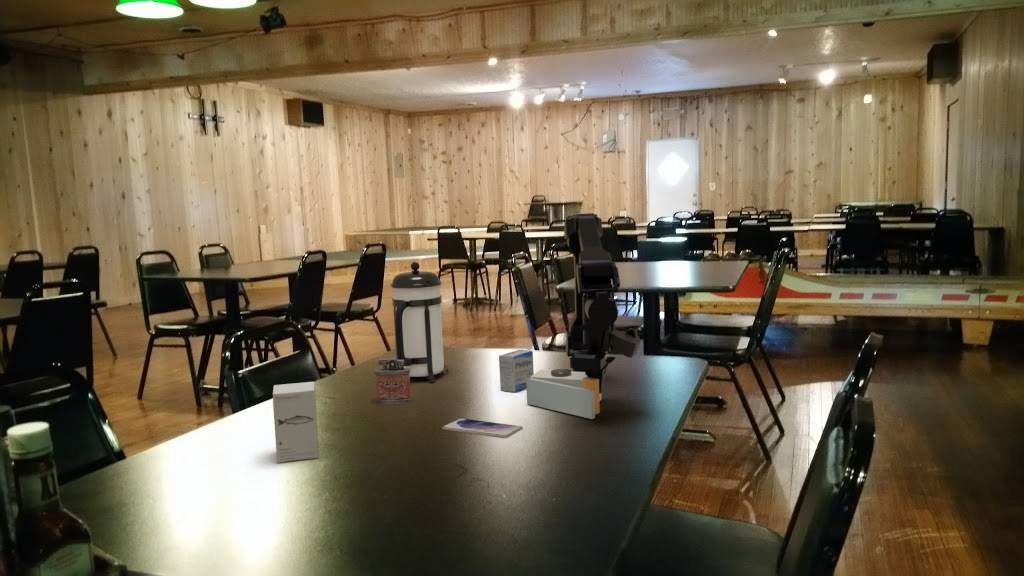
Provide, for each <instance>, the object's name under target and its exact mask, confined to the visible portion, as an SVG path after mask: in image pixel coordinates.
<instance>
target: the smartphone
mask: <svg viewBox="0 0 1024 576" xmlns="http://www.w3.org/2000/svg"><path fill="white" fill-rule="evenodd" d="M441 429H442V430H444V431H450V432H451V431H452V432H456V431H457V432H458V433H463V434H464V433H465V434H473V435H478V436H484V435H485V437H491V438H498V439H508V438H510V437H512V436H513V435H515V434H517V433H518V432H521V431H522V430H523V426H521V425H515V424H508V423H507V424H506V423H499V422H493V421H484V420H476V419H470V418H469V419H468V418H457V419H455V420H453V421H451V422H449V423H446V424H445V425H443V426H442V427H441Z"/></svg>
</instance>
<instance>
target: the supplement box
mask: <svg viewBox="0 0 1024 576" xmlns="http://www.w3.org/2000/svg"><path fill="white" fill-rule="evenodd" d="M272 389H273V390H272V408H273V421H274V422H273V423H274V438H275V451H276V463H277V464H279V463H280V464H281V463H284V462H285V463H286V462H292V461H293V462H294V461H301V460H310V459H311V460H312V459H319V457H320V450H319V433H318V419H317V418H318V417H317V415H318V414H317V399H316V383H315V381H306V382H304V381H303V382H296V383H293V382H292V383H285V384H283V383H282V384H274V385H273V388H272Z"/></svg>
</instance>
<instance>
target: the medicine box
mask: <svg viewBox="0 0 1024 576" xmlns="http://www.w3.org/2000/svg"><path fill="white" fill-rule="evenodd" d="M533 353H534V351H532V350H529V349H517V350H514V351H511V352H506V353H504V354H500V355H499V356H498V365H499V367H498V368H499V383H500V385H499V386H500V391H501V392H502V391H503V392H508V393H514V394H515V393H518V392H521V391H524V390H527V385H526V378H530V377H531V376H532V375H534V374H535V373H534V354H533Z"/></svg>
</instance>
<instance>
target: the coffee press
mask: <svg viewBox="0 0 1024 576" xmlns="http://www.w3.org/2000/svg"><path fill="white" fill-rule="evenodd" d="M410 268H411V271H408V272H407V271H406V272H402V273H401V272H400V273H398V274H396V275H395V276H394V277H393V279H392V281H391V283H390V287H391V289H392V298H391V299H392V300H391V301H392V307H393V322H394V323H393V324H394V341H395V358H396V359H397V360H404V368H410V373H409V375H410V378H413V377H415V378H417V377H419V378H422V377H424V378H426V379H427V380H426V381H427V383H428V384H431V383H435V381H436V377H435V375H437V374H439V373H441V374H443V375H447V374H449V369H448V368H447V367H446V365H445V361H444V359H445V358H444V340H443V319H442V318H443V317H442V300H443V299H442V295H441V285H442V281H441V280H440V278H439V275H437V274H436V273H434V272H432V271H423V270H422V271H420V270H419V269H420V263H419V262H416V261H413V262H412V263H410ZM399 366H400V365H399ZM443 369H445V371H444V372H443Z"/></svg>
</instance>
